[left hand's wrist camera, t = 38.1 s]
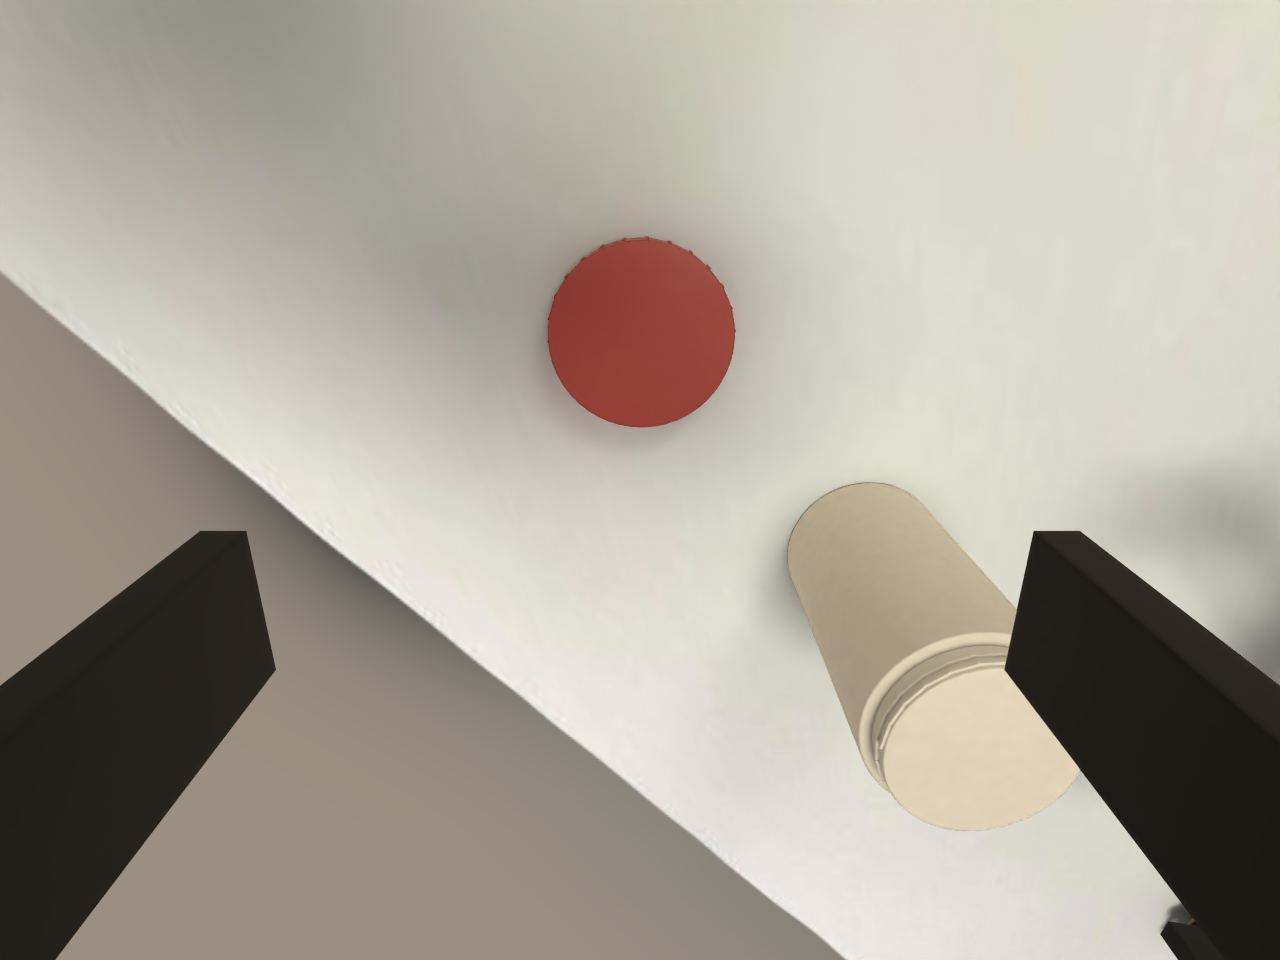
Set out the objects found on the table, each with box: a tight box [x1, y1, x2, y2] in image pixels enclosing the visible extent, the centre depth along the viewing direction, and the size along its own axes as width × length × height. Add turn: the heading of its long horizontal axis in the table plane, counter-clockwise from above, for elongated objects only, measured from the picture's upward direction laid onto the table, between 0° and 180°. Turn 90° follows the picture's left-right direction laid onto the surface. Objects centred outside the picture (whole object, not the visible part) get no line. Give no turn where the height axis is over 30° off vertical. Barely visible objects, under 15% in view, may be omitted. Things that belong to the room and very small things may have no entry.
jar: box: [787, 483, 1080, 831], centre depth 35 cm, size 9×9×17 cm
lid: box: [548, 236, 735, 427], centre depth 37 cm, size 9×9×2 cm
